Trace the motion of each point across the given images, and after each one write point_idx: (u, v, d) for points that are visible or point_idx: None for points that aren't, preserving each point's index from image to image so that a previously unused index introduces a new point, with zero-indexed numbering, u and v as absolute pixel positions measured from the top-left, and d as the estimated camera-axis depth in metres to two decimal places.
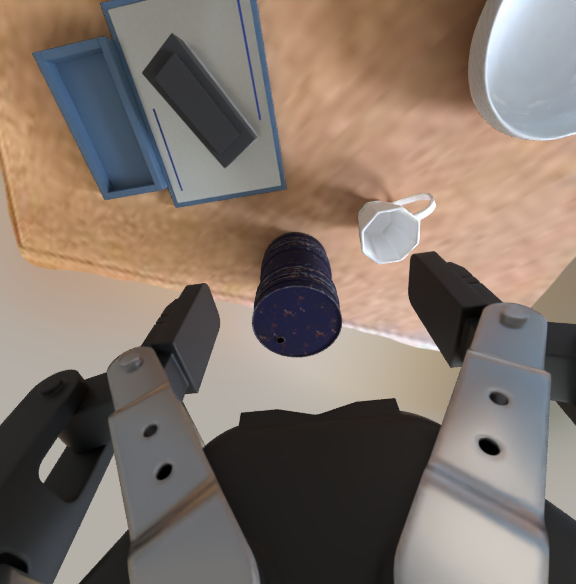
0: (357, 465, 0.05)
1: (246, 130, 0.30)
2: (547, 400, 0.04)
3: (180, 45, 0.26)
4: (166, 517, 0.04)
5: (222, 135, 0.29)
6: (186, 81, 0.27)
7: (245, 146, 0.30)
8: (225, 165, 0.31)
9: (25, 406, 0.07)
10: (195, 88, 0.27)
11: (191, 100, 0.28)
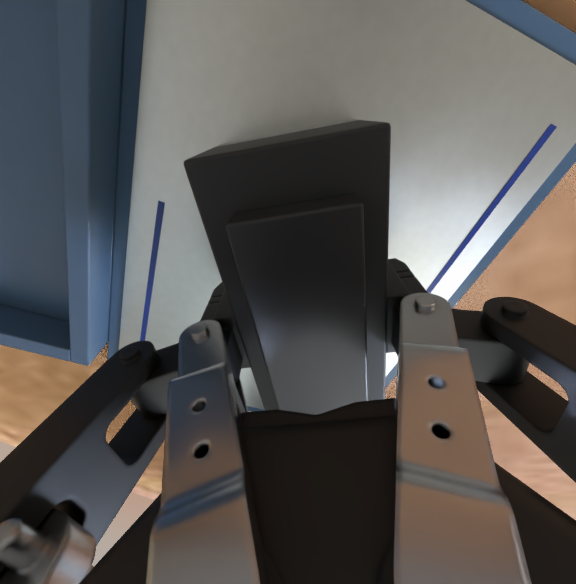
0: (357, 465, 0.05)
1: None
2: (471, 374, 0.05)
3: (385, 177, 0.07)
4: (192, 498, 0.04)
5: None
6: (333, 292, 0.07)
7: None
8: None
9: (107, 367, 0.07)
10: (345, 320, 0.08)
11: (308, 335, 0.08)
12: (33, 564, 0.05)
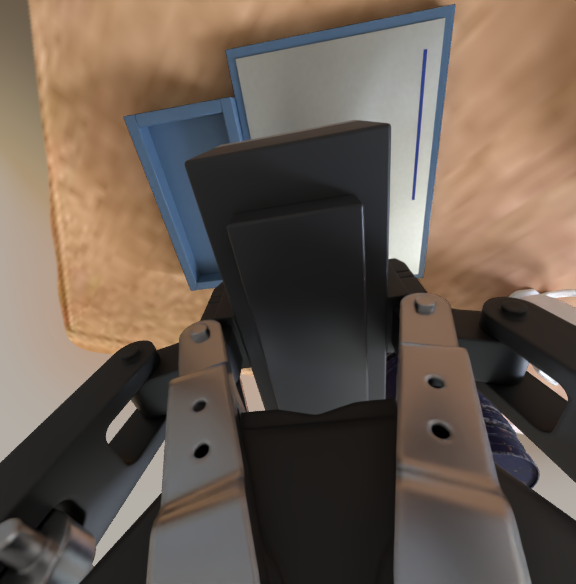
0: (357, 465, 0.05)
1: None
2: (471, 374, 0.05)
3: (386, 178, 0.07)
4: (192, 498, 0.04)
5: None
6: (334, 292, 0.07)
7: None
8: None
9: (108, 367, 0.07)
10: (346, 320, 0.08)
11: (309, 335, 0.08)
12: (33, 563, 0.05)
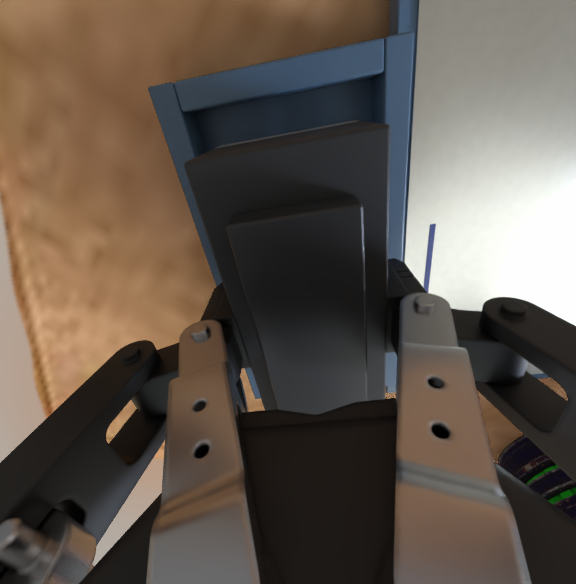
0: (357, 465, 0.05)
1: None
2: (471, 374, 0.05)
3: (385, 179, 0.07)
4: (193, 498, 0.04)
5: None
6: (333, 293, 0.07)
7: None
8: None
9: (108, 367, 0.07)
10: (345, 321, 0.08)
11: (308, 336, 0.08)
12: (33, 564, 0.05)
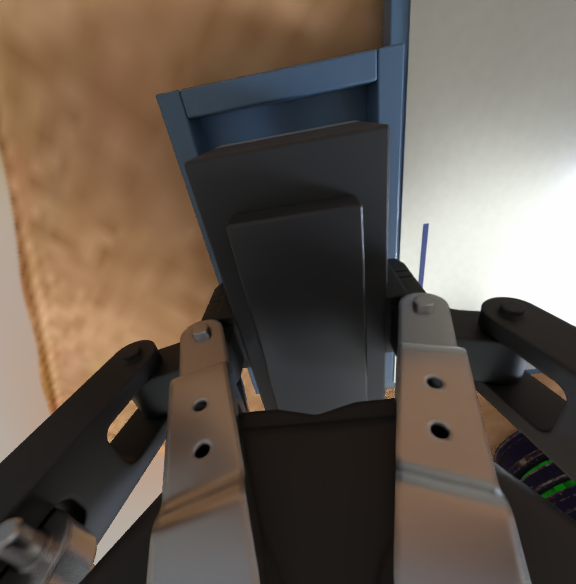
0: (357, 465, 0.05)
1: None
2: (470, 373, 0.05)
3: (385, 178, 0.07)
4: (193, 497, 0.04)
5: None
6: (333, 292, 0.07)
7: None
8: None
9: (109, 367, 0.07)
10: (345, 320, 0.08)
11: (308, 335, 0.08)
12: (34, 563, 0.05)
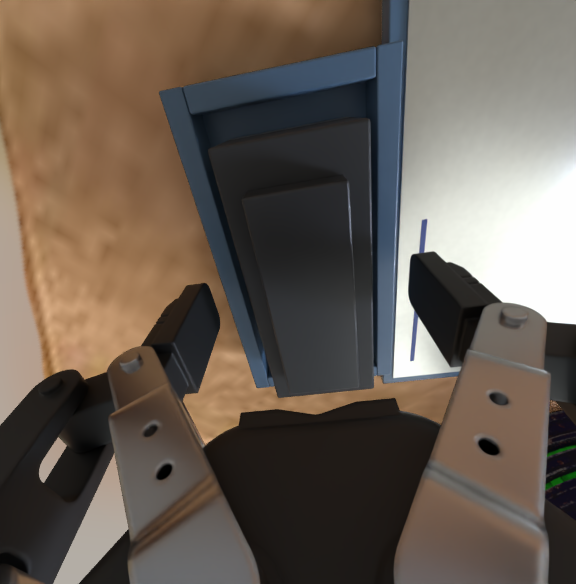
0: (357, 465, 0.05)
1: (371, 372, 0.13)
2: (547, 400, 0.04)
3: (367, 162, 0.08)
4: (166, 517, 0.04)
5: (324, 375, 0.12)
6: (327, 254, 0.09)
7: (347, 389, 0.13)
8: (284, 395, 0.14)
9: (25, 406, 0.07)
10: (337, 279, 0.09)
11: (307, 293, 0.10)
12: None
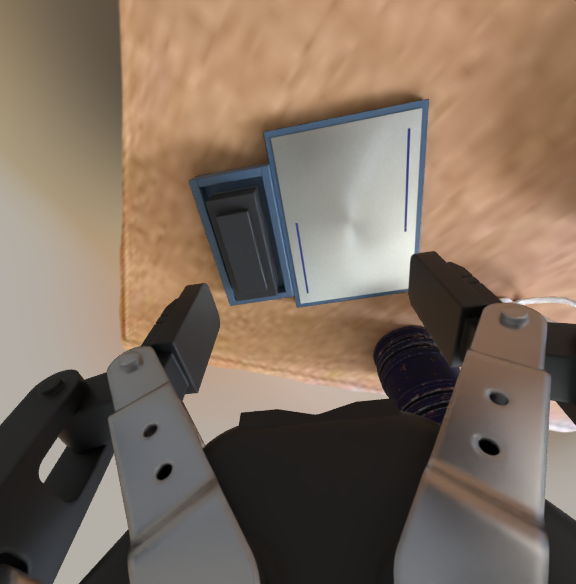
0: (357, 465, 0.05)
1: (274, 286, 0.31)
2: (547, 400, 0.04)
3: (255, 205, 0.26)
4: (166, 517, 0.04)
5: (251, 284, 0.29)
6: (244, 234, 0.27)
7: (266, 296, 0.31)
8: (239, 299, 0.31)
9: (25, 406, 0.07)
10: (249, 243, 0.27)
11: (240, 249, 0.27)
12: None
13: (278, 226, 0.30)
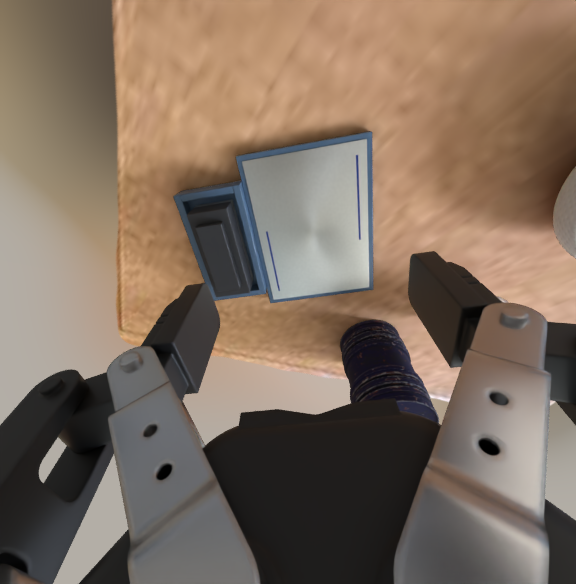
0: (357, 465, 0.05)
1: (247, 285, 0.36)
2: (547, 400, 0.04)
3: (228, 218, 0.32)
4: (166, 517, 0.04)
5: (227, 283, 0.35)
6: (219, 242, 0.32)
7: (240, 293, 0.37)
8: (218, 296, 0.37)
9: (25, 406, 0.07)
10: (224, 249, 0.33)
11: (216, 254, 0.33)
12: None
13: (250, 234, 0.35)
